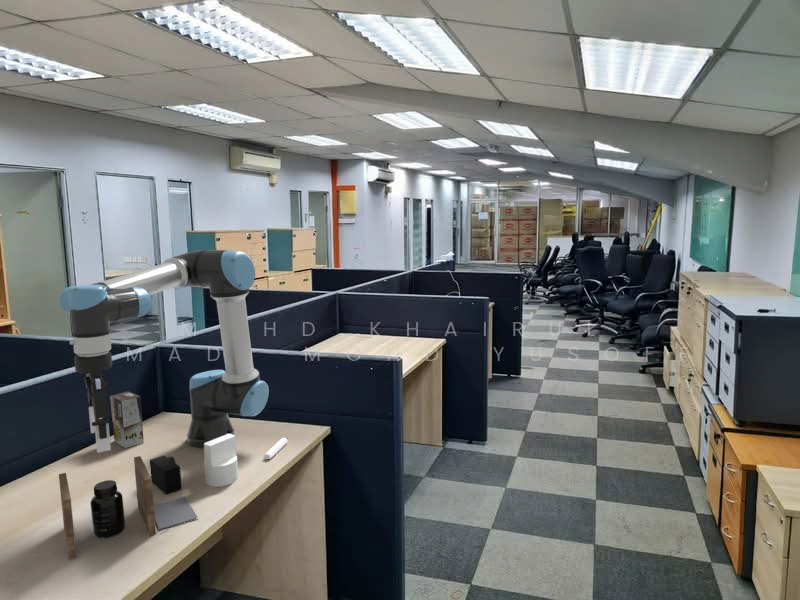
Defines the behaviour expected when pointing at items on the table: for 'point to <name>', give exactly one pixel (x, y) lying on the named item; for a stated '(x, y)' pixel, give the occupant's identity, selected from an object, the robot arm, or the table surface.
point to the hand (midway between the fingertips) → (100, 441)
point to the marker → (275, 448)
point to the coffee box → (127, 419)
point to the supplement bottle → (107, 510)
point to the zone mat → (173, 513)
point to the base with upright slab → (221, 461)
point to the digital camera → (165, 474)
